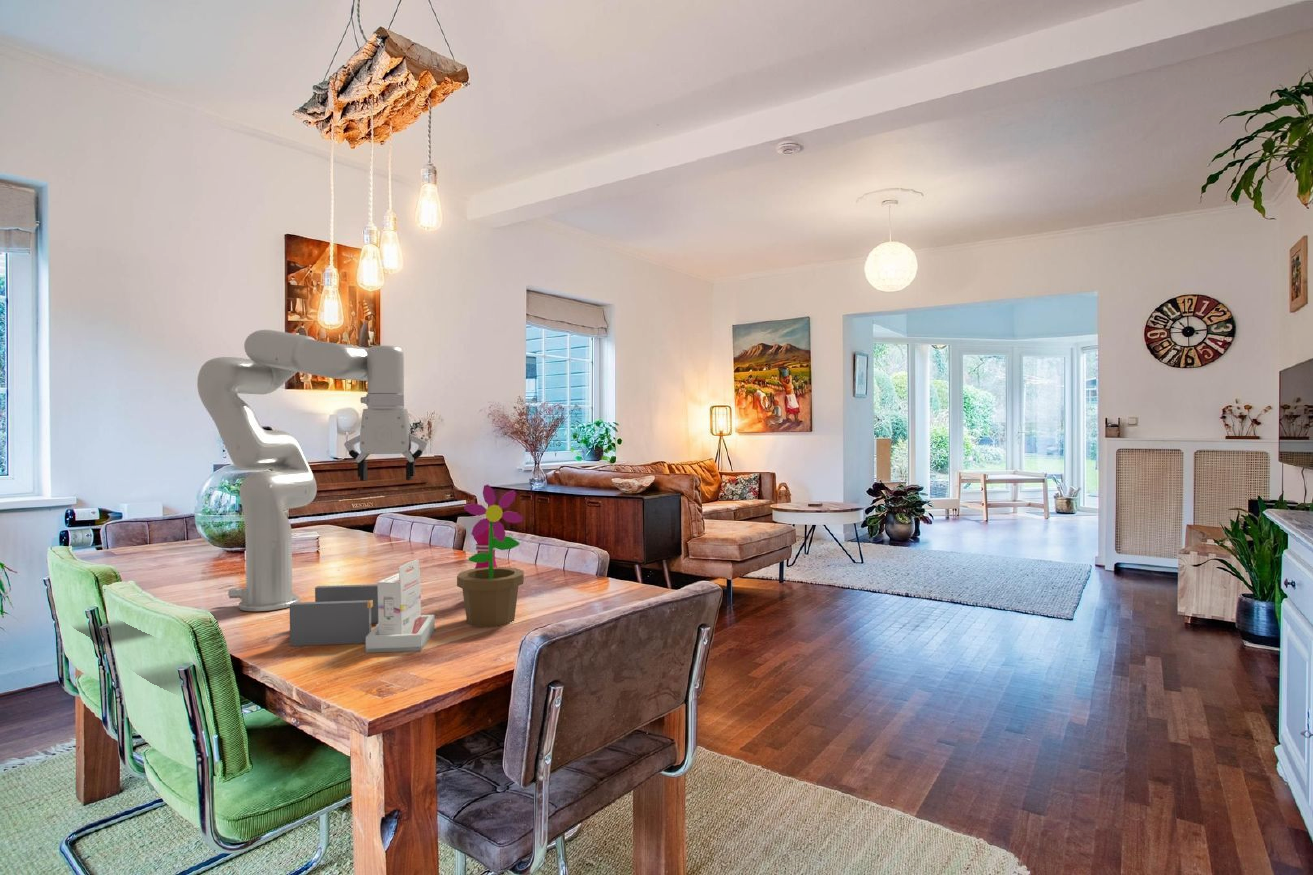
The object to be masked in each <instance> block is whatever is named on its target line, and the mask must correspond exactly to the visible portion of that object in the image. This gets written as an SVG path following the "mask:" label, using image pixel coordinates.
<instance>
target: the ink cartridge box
mask: <svg viewBox="0 0 1313 875" xmlns="http://www.w3.org/2000/svg"><path fill="white" fill-rule="evenodd" d="M409 568H410V569H411V568H412V569H411V570H410V571H408V572H407V570H408V569H409ZM420 569H421V568H420V562H419V558H416V559H415V560H411V561H409V562H406V563H404V564H402V565H399V566H398V573H396V574H394V575H391V576H389V577H386V578H384V579H381V580H380V581H377V582H376V584H377V587H378V623H377V624H378V626H379V635H393V634H415V633H417V632H418V631H419V630H420V628H421V615H422V612H421V610H422V607H421V606H422V602H421V601H422V599H421V598H422V597H421V596H422V595H421V594H422V593H421V592H422V591H421V571H420Z"/></svg>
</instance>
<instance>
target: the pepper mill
mask: <svg viewBox="0 0 1313 875" xmlns="http://www.w3.org/2000/svg"><path fill="white" fill-rule="evenodd" d="M485 518H486V516H484V517H483V518H482V519H485ZM489 526H490V523H489ZM489 526H488V528H487V529H486V530H485V531H484V532H483V533H482V534H481V535H478V536H476V537H474V536H473V539H474V541H475V542H476V544H475V550H476V551H477V552H476V554H477V553H482V552H483V553H489ZM493 538H495V536H494V532H493ZM496 550H498V549H497V548H494V547H493V567H498V564H497V562H496V556H495V555H496ZM485 567H489V560H488V561H486V562H483V563H476V565H475V567H474V569H477V568H485Z"/></svg>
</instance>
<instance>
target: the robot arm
mask: <svg viewBox="0 0 1313 875" xmlns="http://www.w3.org/2000/svg"><path fill="white" fill-rule="evenodd" d="M243 348H244V351H245V353H246V356H248V358H243V357H231V356H225V357H224V356H223V357H222V356H221V357H220V356H219V357H214V358H212V359H209V360H207V361H206V362H204V364H203V365H202V366H201V367H200V369H199V371H198V375H197V381H196V382H197V392H198V396H199V398H200V401H201V403H202V405H203V406H204V407H205V409H206V411H207V413H208V414H209V415H210V417H211V419H212V421H213V422H214V424H215V426H216V428H217V432H218V434H219V436H220V438H221V440H222V442H223V445H224V447H225V449H226V451H227V453H228V455H229V457H230V460H231V461H232V463H233V464H234V466H235V467H236V468H237V469H239V470H243V471H258V472H254V473H252V474H250V475H248V476H247V477H245V479H244V480H243V481H242V482H241V484H240V488H239V498H240V502H241V508H242V512H243V517H244V519H243V520H244V533H245V534H244V535H245V537H244V538H245V541H244V542H245V581H246V582H245V583H246V584H245V587H243V588H230V589H228V593H227V594H228V598H229V599H240V600H241V601H239V603H238V608H239V610H240V611H245V612H268V611H276V610H281V609H286V608H290V604H292V603H299V602H300V600H301V598H300V596H299V595H297V594H293V551H292V550H293V547H292V546H293V545H292V544H293V541H292V540H293V539H292V538H293V537H292V534H293V533H292V532H293V531H292V527H291V526H292V525H291V523H290V521H289V518H288V517H287V515H286V513H285V511H284V510H288V509H296V508H301V507H305V506H307V505H310V504H311V503H312V502H314V499H315V498H316V495H317V492H318V487H317V481H316V478H315V475H314V473H313V471H312V468H311V467H310V464H309V462H308V460H307V458H306V456H305V453H304V452H303V449H302V447H301V445H300V443H299V442H298V441H297V439H296V438H295V436H293V434H291V433H289V432H286V431H284V430H272V429H271V430H267V429H264V428H263V427H262V425H261V423H260V422H259V420H258V417H257V415H256V413H255V412H254V410H253V409H252V408H251V406H250V405H248V403H247V402H246V401H244V400H243V399H242V398H241V397H240V396H239V395H238V394H243V395H244V394H245V395H246V394H247V395H267V394H271V393H273V392H275V391H277V390H278V389H280V388H281V387H282V386H283V385H284V384H285V383H286V382H288V381H289V380H290V379H291V378H292V377H293V376H294V375H296V374H297V373H301V374H308V375H314V376H319V377H324V378H328V379H336V380H337V379H338V380H351V381H352V380H353V381H361V382H362V381H363V382H366V383H367V384H366V387H367V389H366V390H367V393H366V396H363V397H362V396H361V397H360V400H359V401H360V404H365V405H366V407H367V408H363V409H362V415H361V421H360V430H359V435H357V436H355V437H353V438H351V439H349V440H347V441H345V442H344V443H343V445H344V447H345V449H346V451H347V452H348V455H349V456H350V457H351V458H353V460H354V461H355V463H357V478H359V481H360V482H364V481H367V480H368V462H367V461H366V459H367V458H368V457H369V456H370V455H398V454H400V455H403V457H405V459H406V460H407V461H406V462H405V480H406V481H412V480H413V477H415V476H416V474H415V472H416V470H415V467H416V466H415V465H416V461H417V460H418V459H419V458H420V457H422V455H423V453H424V451H425V450H426V448H427V445H428V442H427V441H426V440H423V439H421V438H420V437H417V436H416V435H413V434H412V432H411V424H410V418H409V412H408V408H405V379H404V378H405V374H404V373H405V372H404V371H405V369H404V368H405V367H404V366H405V365H404V362H405V361H404V352H403V349H402V348H401V347H399V346H393V345H372V346H370V347H365V346H364V347H363V346H357V345H350V344H344V343H343V344H342V343H336V342H329V341H322V340H316V339H315V338H314V337H312V336H310V335H304V334H298V333H292V332H284V331H278V330H272V329H260V330H256V331H254V332H252V333H250V334H249V335H248V336H247V337H246V338H245V340H244V345H243ZM412 442H413V443H414V444H417V445H418V446H417V447H418V448H417V449H416V450H415V451H414V453H413V451H411V449H412ZM358 443H359V451H360V453H359V452H358V451H357V450H356V449H355V445H356V444H358Z"/></svg>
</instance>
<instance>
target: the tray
mask: <svg viewBox="0 0 1313 875" xmlns="http://www.w3.org/2000/svg"><path fill="white" fill-rule="evenodd" d="M435 620H436V616H435V614H423V615H422V614H421V628H420V630H419V631H418V632H417V633H415V634H393V635H379V626H378V623H376V625H375V626H374V628H373V629H371V632H370V633H369V634H368V635H367V636H366V643H365V654H375V653H376V654H378V653H379V654H380V653H397V652H398V653H399V652H400V653H401V652H419V651H420V652H421V651H423V650H424V647H425V646H426V644H427V642H428V641H429V639H430V638H431V636H432V634H433V633H434V631H435V630H436V628H435V627H436V626H435V624H436V623H435V622H436V621H435Z"/></svg>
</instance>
